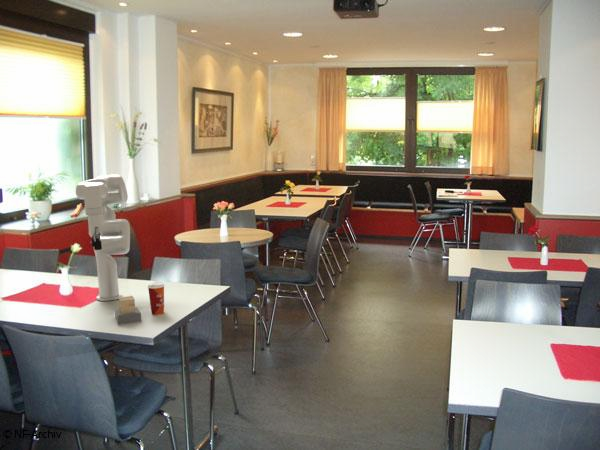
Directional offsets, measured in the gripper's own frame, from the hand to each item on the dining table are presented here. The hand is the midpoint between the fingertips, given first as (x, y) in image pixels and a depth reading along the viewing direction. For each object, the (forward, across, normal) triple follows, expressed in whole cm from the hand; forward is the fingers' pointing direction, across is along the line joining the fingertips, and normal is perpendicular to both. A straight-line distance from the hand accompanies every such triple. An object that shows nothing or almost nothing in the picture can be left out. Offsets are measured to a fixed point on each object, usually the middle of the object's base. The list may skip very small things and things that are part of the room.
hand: (97, 248), depth 294 cm
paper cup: (+31, +16, +23) cm, 41 cm away
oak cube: (+26, +20, +9) cm, 34 cm away
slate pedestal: (+30, +20, +9) cm, 37 cm away
